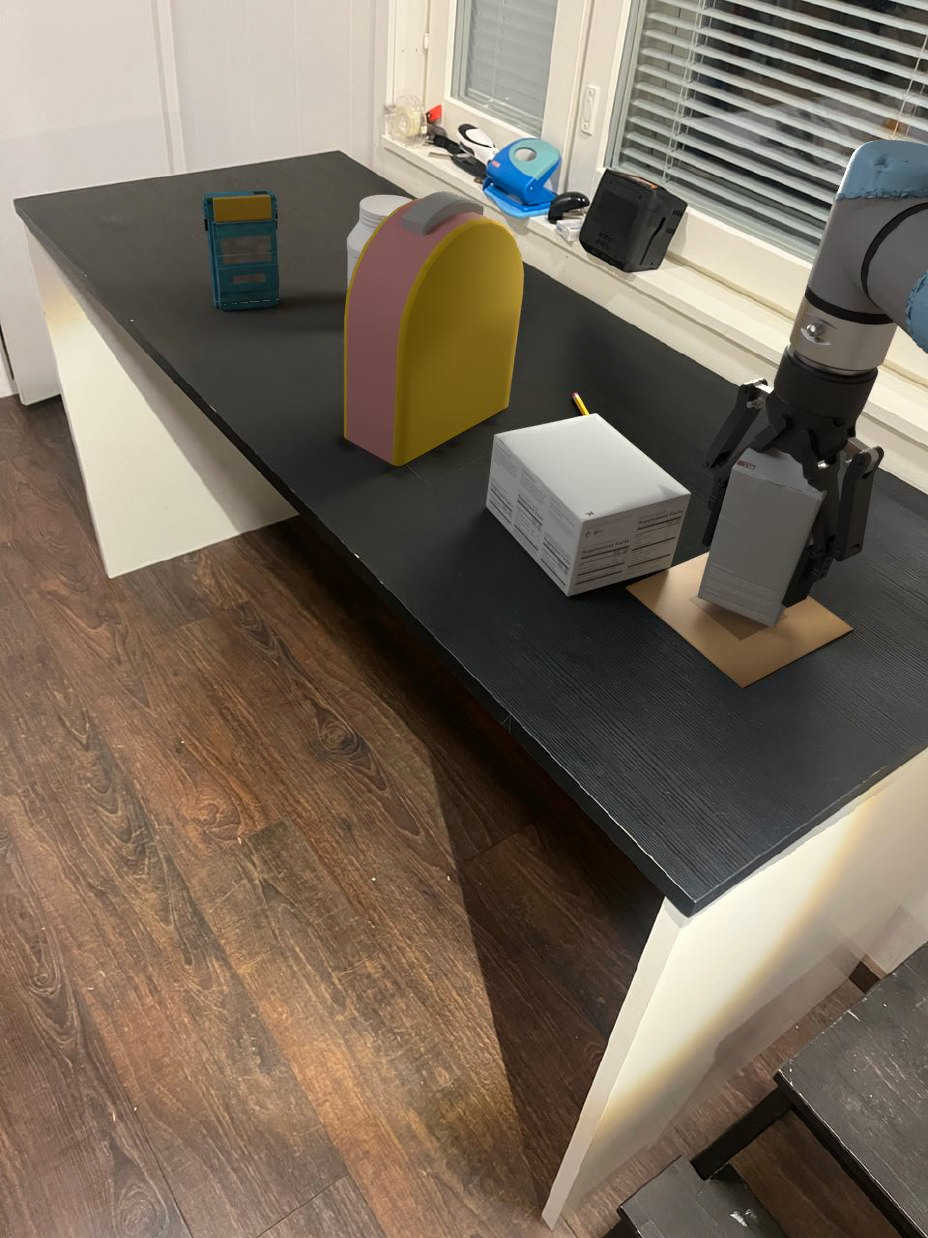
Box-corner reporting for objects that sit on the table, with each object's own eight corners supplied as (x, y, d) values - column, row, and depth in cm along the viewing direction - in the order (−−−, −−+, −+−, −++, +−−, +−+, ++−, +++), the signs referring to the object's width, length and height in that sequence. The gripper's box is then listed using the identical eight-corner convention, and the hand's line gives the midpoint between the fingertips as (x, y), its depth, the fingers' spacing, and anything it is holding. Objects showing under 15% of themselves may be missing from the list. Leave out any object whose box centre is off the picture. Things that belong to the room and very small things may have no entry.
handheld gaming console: (277, 295, 138) (273, 188, 128) (285, 308, 135) (281, 199, 125) (210, 301, 135) (199, 191, 125) (216, 314, 132) (206, 203, 122)
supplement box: (673, 568, 98) (695, 492, 92) (566, 600, 93) (582, 522, 87) (583, 481, 109) (598, 409, 103) (483, 506, 104) (492, 431, 97)
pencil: (577, 397, 124) (578, 392, 123) (609, 453, 114) (610, 448, 114) (571, 397, 123) (572, 392, 123) (603, 453, 114) (604, 448, 113)
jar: (374, 334, 132) (377, 224, 122) (334, 308, 137) (334, 200, 127) (438, 315, 138) (446, 209, 128) (397, 291, 143) (402, 187, 133)
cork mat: (853, 629, 94) (853, 628, 94) (742, 688, 86) (742, 687, 86) (734, 541, 103) (734, 540, 103) (625, 587, 95) (625, 587, 95)
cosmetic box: (793, 597, 94) (851, 461, 84) (770, 636, 90) (828, 498, 79) (714, 563, 97) (760, 428, 87) (688, 599, 93) (733, 462, 82)
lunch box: (456, 378, 124) (474, 165, 107) (510, 405, 120) (539, 188, 103) (341, 436, 112) (341, 205, 94) (398, 467, 108) (409, 232, 90)
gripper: (701, 307, 81) (645, 519, 96) (923, 431, 68) (818, 654, 83) (760, 292, 84) (697, 499, 99) (981, 408, 72) (871, 625, 87)
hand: (752, 570), depth 91 cm, fingers closed on cosmetic box, 10 cm apart
